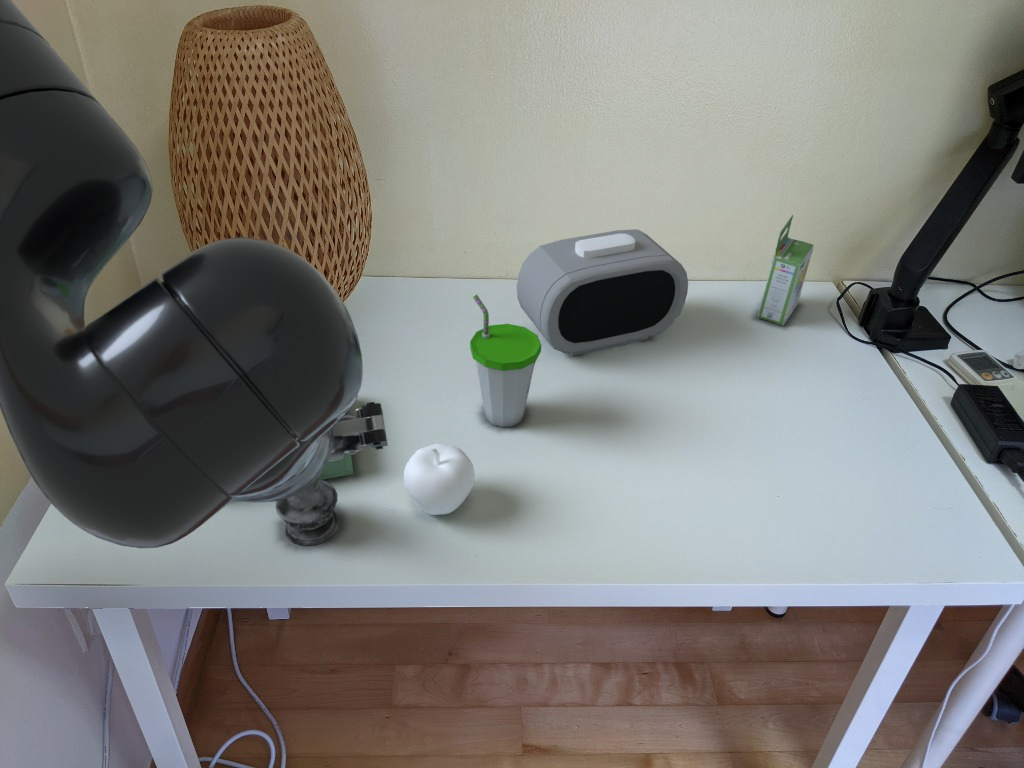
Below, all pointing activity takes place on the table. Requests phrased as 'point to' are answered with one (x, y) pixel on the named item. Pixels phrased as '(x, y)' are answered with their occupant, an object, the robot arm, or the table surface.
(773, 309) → the ink box
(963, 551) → the table surface
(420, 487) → the plain white apple
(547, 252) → the alarm clock
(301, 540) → the chess piece
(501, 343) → the cup
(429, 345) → the table surface
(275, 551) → the table surface
